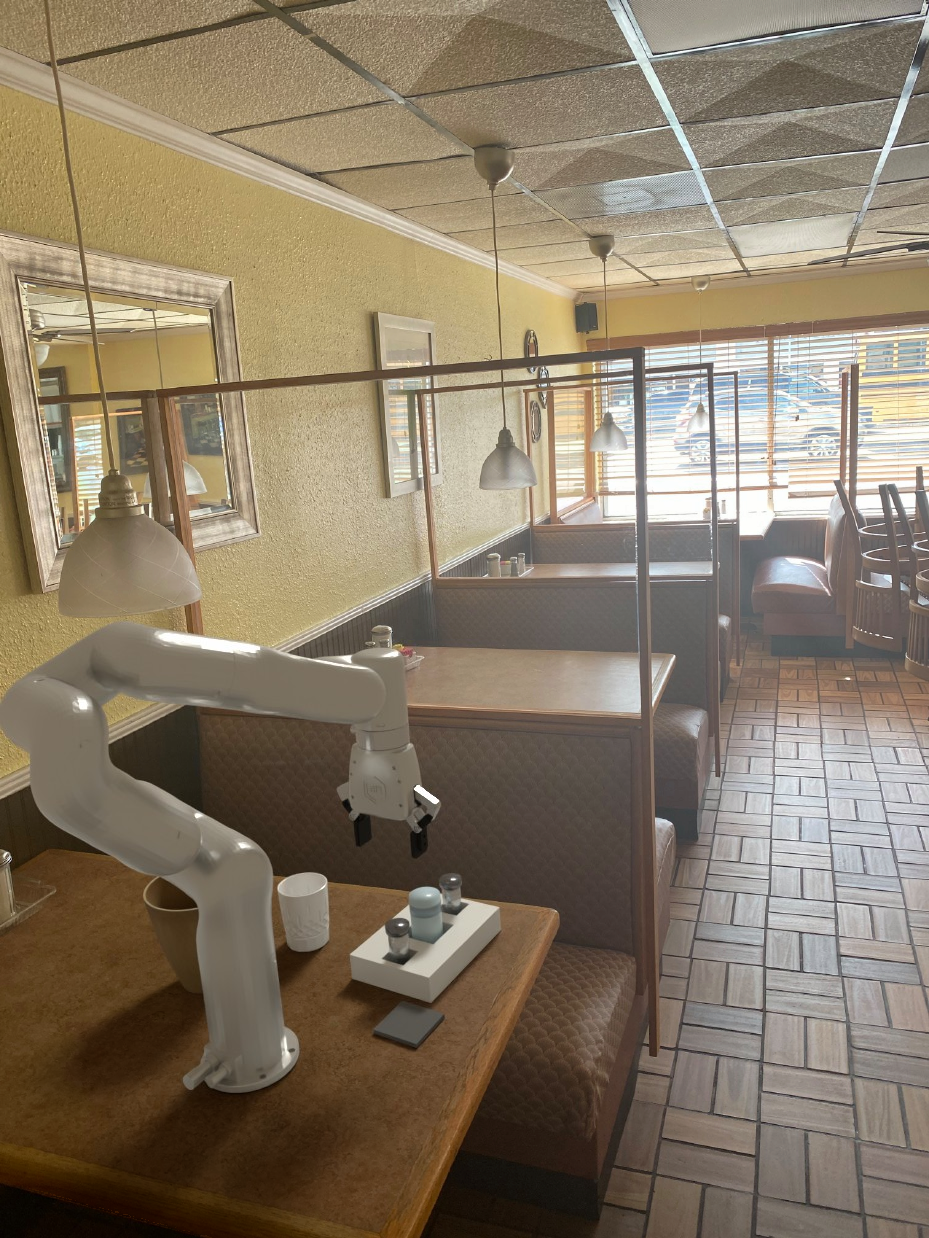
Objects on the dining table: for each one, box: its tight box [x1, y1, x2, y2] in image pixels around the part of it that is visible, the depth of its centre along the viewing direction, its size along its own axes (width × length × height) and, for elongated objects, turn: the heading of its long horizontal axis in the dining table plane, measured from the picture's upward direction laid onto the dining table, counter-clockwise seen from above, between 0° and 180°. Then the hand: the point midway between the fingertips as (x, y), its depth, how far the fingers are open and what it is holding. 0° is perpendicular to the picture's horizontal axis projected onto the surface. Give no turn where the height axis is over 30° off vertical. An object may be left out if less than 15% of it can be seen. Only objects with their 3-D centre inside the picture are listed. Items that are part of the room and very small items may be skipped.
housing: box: [349, 892, 502, 1004], centre depth 142 cm, size 21×14×4 cm, turn 150°
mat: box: [372, 1000, 445, 1049], centre depth 125 cm, size 7×7×1 cm
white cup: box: [276, 872, 330, 953], centre depth 147 cm, size 8×8×10 cm
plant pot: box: [142, 876, 203, 994], centre depth 138 cm, size 15×15×16 cm
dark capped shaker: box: [438, 872, 463, 916], centre depth 147 cm, size 4×4×6 cm
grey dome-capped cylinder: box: [384, 917, 410, 965], centre depth 135 cm, size 4×4×6 cm
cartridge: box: [408, 886, 443, 944], centre depth 141 cm, size 5×5×10 cm
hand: (391, 848), depth 133 cm, fingers open, 9 cm apart
